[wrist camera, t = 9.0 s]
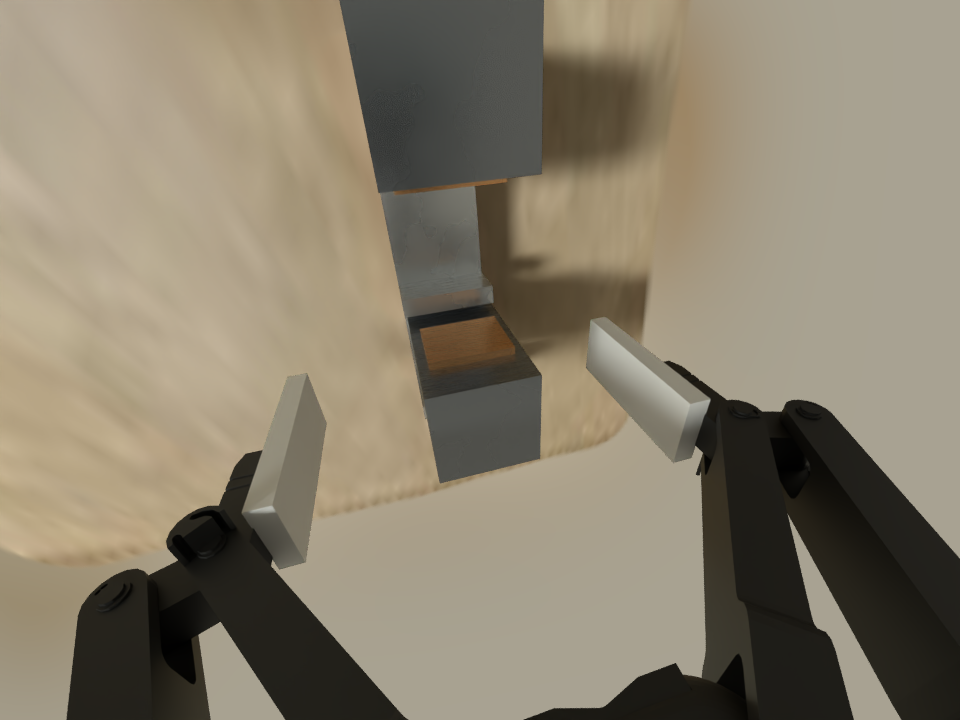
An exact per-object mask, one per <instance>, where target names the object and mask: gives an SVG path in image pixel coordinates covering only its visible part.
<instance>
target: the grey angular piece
mask: <svg viewBox="0 0 960 720" xmlns="http://www.w3.org/2000/svg"><path fill="white" fill-rule="evenodd" d="M340 5H341V10H342V15H343V20H344V25H345V30H346V35H347V40H348V45H349V50H350V54H351V59H352V64H353V69H354V74H355V79H356V84H357V89H358V94H359V99H360V104H361V109H362V114H363V118H364V123H365V128H366V133H367V138H368V143H369V148H370V153H371V158H372V163H373V168H374V173H375V178H376V182H377V187H378V192H379V193H380V194H381V199H382V204H383V209H384V214H385V219H386V224H387V229H388V234H389V239H390V244H391V249H392V254H393V259H394V264H395V269H396V274H397V279H398V284H399V289H400V295H401V300H402V305H403V310H404V315H405V319H406V324H407V329H408V334H409V339H410V344H411V349H412V354H413V359H414V364H415V368H416V373H417V378H418V383H419V389H420V394H421V399H422V404H423V409H424V414H425V419H427V416H426V411H425V406H424V401H423V396H422V391H421V386H420V381H419V376H418V370H417V365H416V360H415V355H414V350H413V345H412V339H411V334H410V329H409V324H408V319H407V317H413V316H419V315H425V314H431V313H436V312H442V311H448V310H454V309H459V308H465V307H471V306H477V305H483V304H488V303H494V301H493V286H492V284H491V283H490V282H489V281H488V279H487V278H486V277H485V276H484V274H483V273H482V272H481V260H480V246H479V233H478V219H477V206H476V193H475V186H479V185H487V184H496V183H504V182H507V178H513V177H522V176H531V175H539V174H542V103H543V24H544V0H340Z"/></svg>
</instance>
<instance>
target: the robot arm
mask: <svg viewBox="0 0 960 720" xmlns="http://www.w3.org/2000/svg"><path fill="white" fill-rule="evenodd" d="M586 368H587V369H588V371H589V372H590V373H591V374H592V375H593V376H594V377H595V378H596V379H597V380H598V381H599V383H600V384H601V385H602V386H603V387H604V388H605V389H606V390H607V391H608V392H609V393H610V395H611V396H612V397H613V398H614V399H615V400H616V401H617V402H618V403H619V404H620V405H621V407H622V408H623V409H624V410H625V411H626V412H627V413H628V414H629V415H630V416H631V417H632V419H633V420H634V421H635V422H636V423H637V424H638V425H639V426H640V427H641V428H642V429H643V431H644V432H645V433H646V434H647V435H648V436H649V437H650V438H651V439H652V440H653V441H654V443H655V444H656V445H657V446H658V447H659V448H660V449H661V450H662V451H663V452H664V453H665V455H666V456H667V457H668V458H669V459H670V460H671V461H672V462H673V463H674V462H678V461H682V460H685V459H689V458H691V457H692V455H693V452H694V449H695V446H697V447H698V448H699V449H700V450H701V451H702V452H703V455H702V458H701V461H700V464H699V466H698V469H697V472H696V475H700V472H701V485H702V521H703V558H704V591H705V629H706V653H705V660H704V665H703V670H702V678H699V677H695V676H688V675H683V674H682V673H681V671H680V669H679V668H678V666H677V664H676V663H675V664H672V665H669V666H666V667H664V668H661V669H658V670H656V671H653V672H650V673H648V674H645V675H642V676H640V677H638V678H636V679H635V680H634V681H633V682H632V683H631V684H630V685H629V686H627V687H626V688H625V689H624V690H623V691H622V692H621V693H620V694H618V695H617V696H616V697H615V698H614V699H613V700H612V701H611V702H610V703H608V704H607V705H606V706H604V707H602V708H554V709H551V710H548V711H546V712H543V713H540V714H538V715H535V716H532V717H530V718H527V719H524V720H854V719H853V715H852V711H851V708H850V704H849V700H848V696H847V692H846V689H845V685H844V681H843V677H842V673H841V670H840V666H839V662H838V659H837V655H836V651H835V648H834V645H833V643H832V640H831V639H830V637H829V636H828V634H827V633H826V632H824V631H822V630H820V629H817V627H816V626H815V625H814V622H813V620H812V616H811V611H810V608H809V603H808V599H807V595H806V591H805V586H804V582H803V577H802V573H801V569H800V565H799V560H798V556H797V552H796V548H795V544H794V539H793V535H792V531H791V527H790V522H789V518H788V515H789V517H790V519H791V520H792V522H793V524H794V526H795V527H796V530H797V531H798V533H799V535H800V537H801V539H802V541H803V542H804V544H805V546H806V548H807V550H808V551H809V553H810V555H811V557H812V559H813V561H814V562H815V564H816V566H817V568H818V570H819V571H820V573H821V575H822V577H823V579H824V580H825V582H826V584H827V586H828V588H829V590H830V592H831V593H832V595H833V597H834V599H835V601H836V602H837V604H838V606H839V608H840V610H841V611H842V613H843V615H844V617H845V619H846V621H847V623H848V624H849V626H850V628H851V630H852V631H853V633H854V635H855V637H856V639H857V641H858V642H859V644H860V646H861V648H862V650H863V651H864V653H865V655H866V657H867V659H868V661H869V662H870V664H871V666H872V668H873V670H874V672H875V674H876V675H877V677H878V679H879V681H880V682H881V684H882V686H883V688H884V690H885V692H886V694H887V695H888V697H889V699H890V701H891V703H892V705H893V706H894V708H895V710H896V711H897V713H898V715H899V716H900V718H901V720H960V558H959V557H958V556H957V555H956V554H955V553H954V552H953V550H952V549H951V548H950V547H949V546H948V545H947V544H946V543H945V541H944V540H943V539H942V538H941V537H940V536H939V535H938V533H937V532H936V531H935V530H934V529H933V528H932V527H931V525H930V524H929V523H928V522H927V521H926V520H925V519H924V517H923V516H922V515H921V514H920V513H919V512H918V511H917V510H916V508H915V507H914V506H913V505H912V504H911V503H910V502H909V500H908V499H907V498H906V497H905V496H904V495H903V494H902V492H901V491H900V490H899V489H898V488H897V487H896V486H895V485H894V483H893V482H892V481H891V480H890V479H889V478H888V477H887V476H886V474H885V473H884V472H883V471H882V470H881V469H880V468H879V466H878V465H877V464H876V463H875V462H874V461H873V460H872V458H871V457H870V456H869V455H868V454H867V453H866V452H865V451H864V449H863V448H862V447H861V446H860V445H859V444H858V443H857V441H856V440H855V439H854V438H853V437H852V436H851V435H850V433H849V432H848V431H847V430H846V429H845V428H844V427H843V426H842V424H840V422H839V421H838V420H837V419H836V418H835V416H834V415H833V414H832V413H831V412H829V411H828V410H827V409H826V408H824V407H822V406H820V405H818V404H816V403H812V402H809V401H803V400H791V401H788V402H786V404H785V406H784V409H783V410H782V412H762V411H761V410H759V409H758V408H757V407H756V406H754V405H751V404H749V403H747V402H743V401H739V400H726V399H725V398H723V397H722V396H721V395H719V394H718V393H717V392H715V391H714V390H713V389H711V388H710V387H709V386H707V385H706V384H705V383H703V382H702V381H699V379H698V378H696V377H695V376H694V375H691V373H690V372H689V371H687V370H686V369H685V368H683V367H682V366H680V365H678V364H675V363H673V362H671V361H666V362H663V361H661V360H660V359H659V358H658V357H656V356H655V355H654V354H652V353H651V352H650V351H648V350H647V349H646V348H645V347H643V346H642V345H641V344H640V343H638V342H637V341H636V340H635V339H633V338H632V337H631V336H629V335H628V334H627V333H626V332H624V331H623V330H622V329H620V328H619V327H618V326H617V325H615V324H614V323H613V322H612V321H610V320H609V319H608V318H606V317H601V318H596V319H591V321H590V331H589V342H588V353H587V363H586ZM325 430H326V420H325V418H324V415H323V413H322V410H321V408H320V405H319V403H318V400H317V397H316V395H315V392H314V390H313V387H312V385H311V382H310V380H309V377H308V374H307V373H305V374H300V375H295V376H289V377H287V380H286V383H285V386H284V389H283V392H282V395H281V398H280V401H279V404H278V406H277V409H276V412H275V415H274V418H273V421H272V424H271V427H270V430H269V433H268V436H267V439H266V442H265V445H264V448H263V450H261V451H256V452H252V453H247V454H245V455H244V456H243V458H242V459H241V460H240V461H239V462H238V463H237V464H236V466H235V467H234V470H233V472H232V475H231V477H230V481H229V482H228V484H227V487H226V489H225V490H226V492H224V494H223V497H222V499H221V502H220V504H219V506H207V507H203V508H200V509H197V510H195V511H194V512H192V513H190V514H188V515H187V516H185V517H184V518H183V519H182V520H180V521H179V522H178V523H177V524H176V525H175V526H174V528H173V529H172V530H171V531H170V533H169V535H168V538H167V540H166V543H167V548H168V549H169V551H170V552H171V553H172V554H173V555H174V556H175V557H176V558H177V559H178V561H176V562H175V563H173V564H171V565H169V566H167V567H165V568H163V569H161V570H158V571H156V572H154V573H152V574H150V575H148V574H146V573H145V572H144V571H142V570H139V569H131V570H126V571H123V572H121V573H118V574H116V575H114V576H113V577H111V578H109V579H108V580H106V581H105V582H103V583H102V584H101V585H100V586H99V587H97V588H96V589H95V590H94V591H93V592H92V593H91V594H90V595H89V597H88V598H87V599H86V600H85V602H84V603H83V605H82V606H81V609H80V612H79V615H78V621H77V630H76V639H75V648H74V657H73V666H72V675H71V684H70V693H69V702H68V711H67V720H210V713H209V706H208V700H207V692H206V685H205V678H204V672H203V665H202V657H201V650H200V644H199V637H198V634H200V633H202V632H204V631H205V630H207V629H209V628H210V627H212V626H214V625H216V624H217V623H219V622H221V623H222V624H223V626H224V628H225V629H226V631H227V632H228V633H229V635H230V637H231V638H232V640H233V641H234V643H235V644H236V646H237V647H238V649H239V650H240V652H241V653H242V655H243V656H244V658H245V659H246V661H247V662H248V664H249V665H250V667H251V668H252V670H253V671H254V673H255V674H256V676H257V677H258V679H259V680H260V682H261V683H262V685H263V686H264V688H265V690H266V691H267V692H268V694H269V696H270V697H271V699H272V700H273V702H274V703H275V705H276V706H277V708H278V709H279V711H280V712H281V714H282V715H283V717H284V718H285V720H408V719H406V718H405V717H404V716H403V715H402V714H401V713H400V712H399V711H398V710H397V708H396V707H395V706H394V705H393V704H392V703H391V702H390V701H389V699H388V698H387V697H386V696H385V695H384V694H383V693H382V691H381V690H380V689H379V688H378V687H377V686H376V685H375V684H374V682H373V681H372V680H371V679H370V678H369V677H368V676H367V674H366V673H365V672H364V671H363V670H362V669H361V668H360V667H359V665H358V664H357V663H356V662H355V661H354V660H353V659H352V657H351V656H350V655H349V654H348V653H347V652H346V651H345V650H344V648H343V647H342V646H341V645H340V644H339V643H338V642H337V641H336V639H335V638H334V637H333V636H332V635H331V634H330V633H329V632H328V630H327V629H326V628H325V627H324V626H323V625H322V623H321V622H320V621H319V620H318V619H317V618H316V617H315V616H314V614H313V613H312V612H311V611H310V610H309V609H308V608H307V606H306V605H305V604H304V603H303V602H302V601H301V600H300V599H299V597H298V596H297V595H296V594H295V593H294V592H293V591H292V590H291V589H290V587H289V586H288V585H287V584H286V583H285V582H284V580H283V579H282V578H281V577H280V576H279V575H278V574H277V573H276V571H275V570H274V569H273V568H272V567H271V563H272V559H273V561H274V562H275V564H276V565H277V567H278V568H279V569H283V568H286V567H290V566H294V565H297V564H301V563H304V562H306V556H307V550H308V543H309V536H310V530H311V523H312V516H313V510H314V503H315V496H316V490H317V483H318V476H319V470H320V463H321V456H322V450H323V443H324V437H325ZM787 513H788V514H787Z"/></svg>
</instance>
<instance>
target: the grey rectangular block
mask: <svg viewBox="0 0 960 720" xmlns="http://www.w3.org/2000/svg"><path fill="white" fill-rule="evenodd" d="M407 319H408V324H409V329H410V334H411V339H412V345H413V350H414V355H415V360H416V365H417V370H418V376H419V381H420V386H421V391H422V396H423V401H424V406H425V411H426V416H427V421H428V426H429V431H430V436H431V441H432V446H433V451H434V456H435V461H436V466H437V471H438V476H439V481H440V483H443V482H447V481H451V480H456V479H460V478H464V477H468V476H472V475H476V474H480V473H484V472H488V471H492V470H496V469H500V468H504V467H508V466H512V465H516V464H520V463H524V462H528V461H532V460H536V459H540V435H541V389H542V375H541V373H540V372H539V371H538V369H537V368H536V366H535V365H534V363H533V362H532V361H531V359H530V358H529V356H528V355H527V354H526V352H525V351H524V349H523V348H522V346H521V345H520V344H519V342H518V341H517V339H516V338H515V337H514V335H513V334H512V332H511V331H510V330H509V328H508V327H507V325H506V324H505V322H504V321H503V320H502V318H501V317H500V315H499V314H498V313H497V311H496V310H495V308H494V307H493V305H492V304H491V303H488V304H483V305H477V306H471V307H465V308H459V309H454V310H448V311H442V312H436V313H431V314H425V315H419V316H413V317H407Z"/></svg>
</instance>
